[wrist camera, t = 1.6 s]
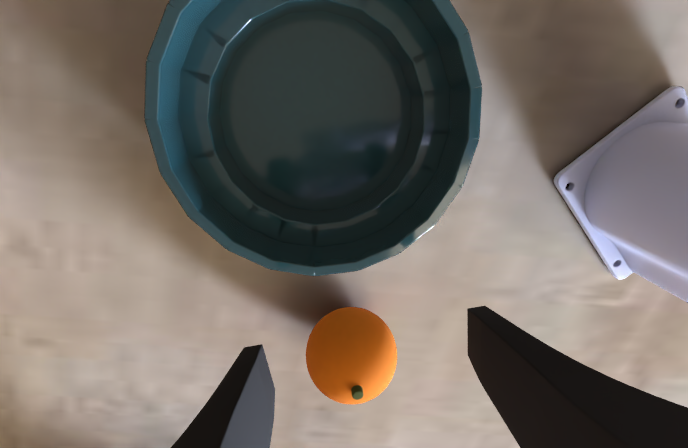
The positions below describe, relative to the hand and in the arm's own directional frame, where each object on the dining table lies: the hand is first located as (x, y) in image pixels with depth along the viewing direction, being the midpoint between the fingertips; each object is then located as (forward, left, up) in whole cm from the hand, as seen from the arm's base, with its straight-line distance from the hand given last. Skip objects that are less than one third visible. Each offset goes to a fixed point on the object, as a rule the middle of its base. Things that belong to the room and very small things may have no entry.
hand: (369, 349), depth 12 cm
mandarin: (-5, +4, -7) cm, 9 cm away
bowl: (+6, -4, -10) cm, 12 cm away
